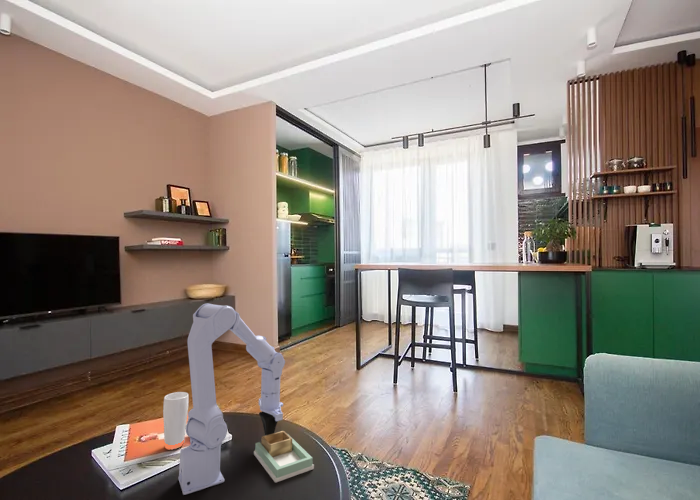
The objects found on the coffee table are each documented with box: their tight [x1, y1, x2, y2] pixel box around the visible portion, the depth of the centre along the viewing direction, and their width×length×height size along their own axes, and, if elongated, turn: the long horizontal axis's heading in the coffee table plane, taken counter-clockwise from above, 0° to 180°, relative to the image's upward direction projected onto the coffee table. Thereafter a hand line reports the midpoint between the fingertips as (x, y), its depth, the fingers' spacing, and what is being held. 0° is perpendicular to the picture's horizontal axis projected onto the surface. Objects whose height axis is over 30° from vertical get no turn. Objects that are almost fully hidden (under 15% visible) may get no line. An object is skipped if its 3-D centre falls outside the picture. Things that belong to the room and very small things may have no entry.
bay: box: [253, 436, 315, 483], centre depth 96 cm, size 11×16×3 cm
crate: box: [260, 430, 293, 457], centre depth 99 cm, size 7×6×4 cm
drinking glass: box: [162, 391, 190, 445], centre depth 103 cm, size 7×7×15 cm
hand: (269, 436), depth 104 cm, fingers closed
